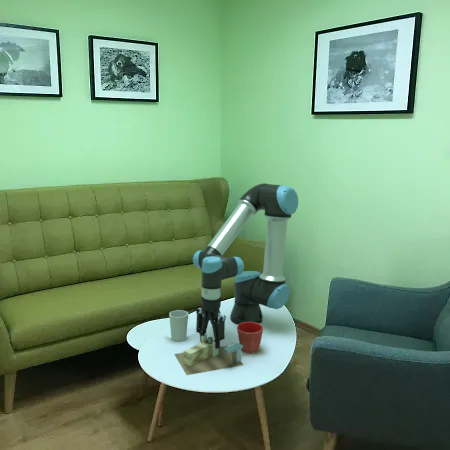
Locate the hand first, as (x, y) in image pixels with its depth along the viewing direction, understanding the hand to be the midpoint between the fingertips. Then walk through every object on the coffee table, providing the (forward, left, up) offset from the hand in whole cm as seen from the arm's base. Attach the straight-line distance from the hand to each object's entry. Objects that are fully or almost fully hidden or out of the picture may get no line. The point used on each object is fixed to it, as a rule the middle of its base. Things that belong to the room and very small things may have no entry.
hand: (209, 352), depth 184 cm
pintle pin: (0, 0, -1) cm, 1 cm away
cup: (+8, -17, -1) cm, 19 cm away
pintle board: (+2, +4, -1) cm, 5 cm away
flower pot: (-17, 0, -1) cm, 17 cm away
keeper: (-5, +11, 0) cm, 12 cm away
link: (+4, +2, 0) cm, 5 cm away
